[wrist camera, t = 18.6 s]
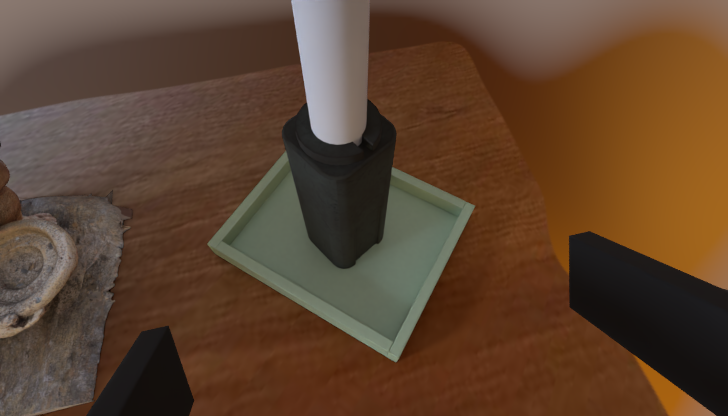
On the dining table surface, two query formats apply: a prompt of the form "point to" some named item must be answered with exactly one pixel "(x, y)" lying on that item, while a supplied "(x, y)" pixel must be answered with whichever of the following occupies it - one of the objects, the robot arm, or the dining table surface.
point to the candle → (339, 133)
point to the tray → (372, 270)
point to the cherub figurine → (54, 296)
